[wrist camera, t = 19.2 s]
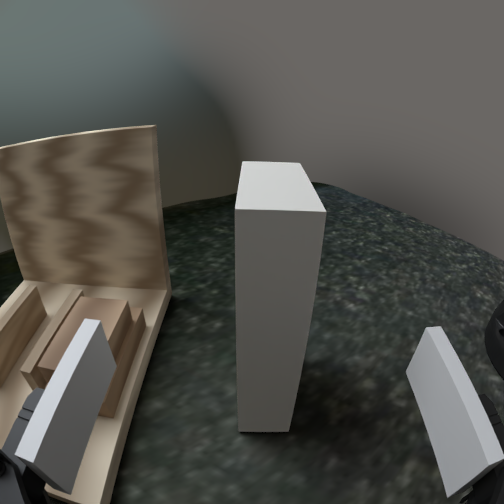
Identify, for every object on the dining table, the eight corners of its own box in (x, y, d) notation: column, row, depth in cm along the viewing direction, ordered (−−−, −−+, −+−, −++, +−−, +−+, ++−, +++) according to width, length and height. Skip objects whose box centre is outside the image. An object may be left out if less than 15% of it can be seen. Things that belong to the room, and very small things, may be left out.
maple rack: (171, 293, 34) (156, 124, 26) (107, 515, 13) (-83, 279, 5) (33, 283, 34) (0, 147, 26) (-68, 431, 13) (-173, 256, 5)
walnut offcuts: (146, 325, 27) (138, 288, 25) (113, 418, 18) (95, 383, 17) (97, 320, 27) (86, 285, 25) (54, 405, 18) (32, 369, 17)
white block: (282, 352, 27) (300, 163, 19) (288, 431, 20) (326, 211, 12) (241, 351, 27) (242, 161, 19) (238, 431, 20) (235, 209, 12)
